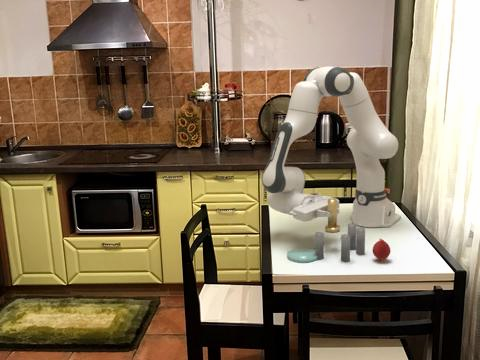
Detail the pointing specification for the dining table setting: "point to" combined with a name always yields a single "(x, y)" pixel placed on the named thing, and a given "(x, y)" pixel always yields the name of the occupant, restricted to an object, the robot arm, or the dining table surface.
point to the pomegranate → (381, 250)
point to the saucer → (302, 255)
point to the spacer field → (343, 243)
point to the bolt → (332, 217)
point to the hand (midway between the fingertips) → (334, 213)
